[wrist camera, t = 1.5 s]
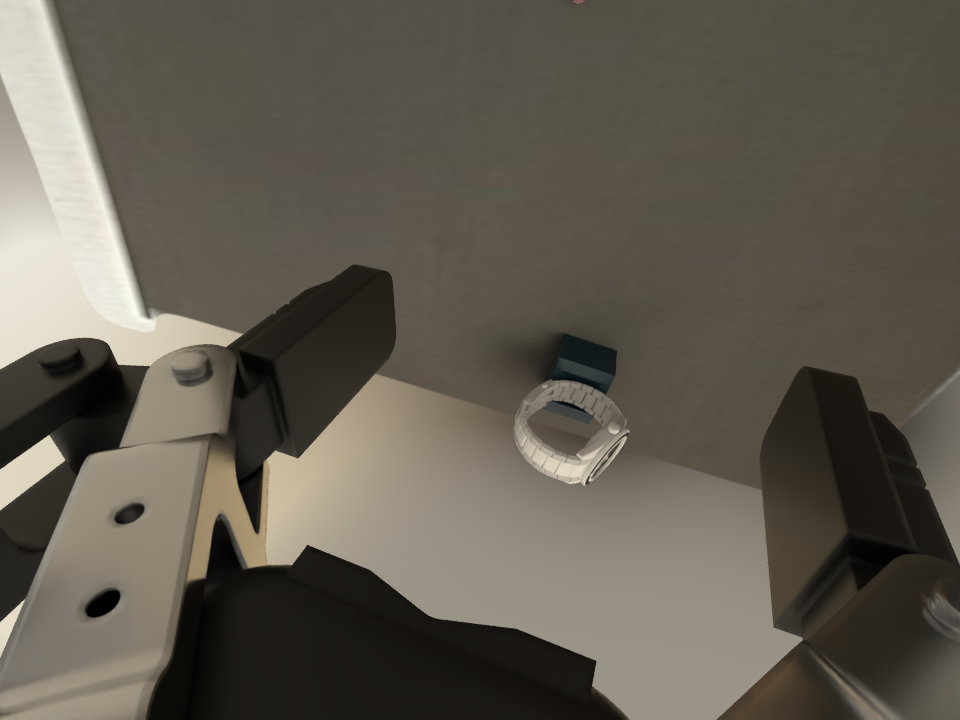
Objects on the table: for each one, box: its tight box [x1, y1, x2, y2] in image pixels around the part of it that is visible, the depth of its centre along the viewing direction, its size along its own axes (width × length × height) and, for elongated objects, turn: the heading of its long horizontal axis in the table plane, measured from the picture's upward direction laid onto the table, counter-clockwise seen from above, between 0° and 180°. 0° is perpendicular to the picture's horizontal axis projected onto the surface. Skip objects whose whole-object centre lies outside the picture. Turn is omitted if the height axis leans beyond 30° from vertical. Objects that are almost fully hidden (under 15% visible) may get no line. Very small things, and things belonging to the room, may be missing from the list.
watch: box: [514, 334, 629, 485], centre depth 38 cm, size 6×8×11 cm
